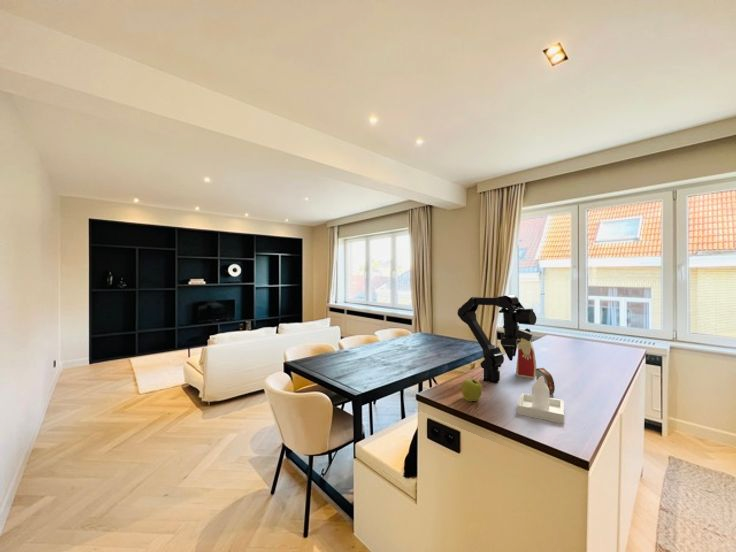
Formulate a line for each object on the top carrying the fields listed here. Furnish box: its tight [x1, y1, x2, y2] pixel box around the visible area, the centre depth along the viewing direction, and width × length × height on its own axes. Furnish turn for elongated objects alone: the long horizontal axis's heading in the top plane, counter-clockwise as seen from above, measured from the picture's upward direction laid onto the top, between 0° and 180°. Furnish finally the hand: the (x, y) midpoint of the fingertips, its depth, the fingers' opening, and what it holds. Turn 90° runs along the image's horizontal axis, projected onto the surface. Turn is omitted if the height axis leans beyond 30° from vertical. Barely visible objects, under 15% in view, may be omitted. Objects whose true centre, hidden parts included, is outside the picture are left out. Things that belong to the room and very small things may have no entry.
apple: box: [461, 375, 483, 402], centre depth 121 cm, size 8×8×10 cm
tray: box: [516, 392, 565, 424], centre depth 110 cm, size 14×14×3 cm
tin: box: [535, 367, 556, 394], centre depth 131 cm, size 15×3×8 cm, turn 168°
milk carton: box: [515, 338, 537, 380], centre depth 152 cm, size 9×9×20 cm
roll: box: [531, 376, 550, 410], centre depth 111 cm, size 6×12×6 cm
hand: (512, 358), depth 134 cm, fingers open, 9 cm apart
